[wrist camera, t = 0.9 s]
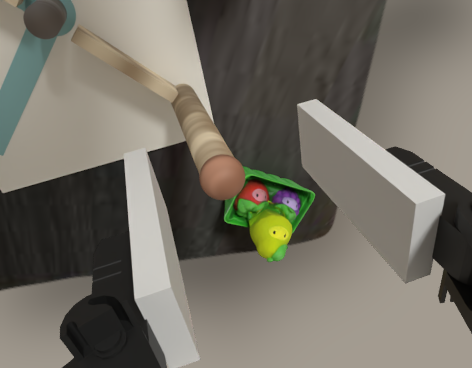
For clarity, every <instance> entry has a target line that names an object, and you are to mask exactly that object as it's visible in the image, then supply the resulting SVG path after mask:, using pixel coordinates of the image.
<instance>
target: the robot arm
mask: <svg viewBox="0 0 472 368" xmlns="http://www.w3.org/2000/svg"><path fill="white" fill-rule="evenodd" d="M297 109H298V121H299V134H300V146H301V158H302V167H303V168H304V169H305V170H306V171H307V172H308V174H309V175H310V176H311V177H312V178H313V179H314V180H315V181H316V183H317V184H318V185H319V186H320V187H321V188H322V189H323V191H324V192H325V193H326V194H327V195H328V196H329V197H330V199H331V200H332V201H333V202H334V203H335V204H336V205H337V206H338V208H339V209H340V210H341V211H342V212H343V213H344V214H345V216H346V217H347V218H348V219H349V220H350V221H351V222H352V223H353V225H354V226H355V227H356V228H357V229H358V230H359V231H360V233H361V234H362V235H363V236H364V237H365V238H366V239H367V241H368V242H370V244H371V245H372V246H373V247H374V248H375V250H376V251H377V252H378V253H379V254H380V255H381V256H382V258H383V259H384V260H385V261H386V262H387V263H388V264H389V265H390V267H391V268H392V269H393V270H394V271H395V272H396V273H397V274H398V276H399V277H400V278H401V279H402V280H403V281H404V282H405V283H408V282H411V281H413V280H416V279H419V278H422V277H424V276H427V275H430V273H431V268H432V262H433V259H435V261H437V262H438V263H439V264H440V265H441V266H442V267H443V268H444V271H443V275H442V280H441V285H440V290H439V294H438V297H439V301H440V303H444V302H445V298H446V293H447V290H448V292H449V294H450V296H451V298H450V302H454V303H455V304H456V306H457V308H458V310H459V312H460V313H461V315H462V317H463V319H464V320H465V322H466V324H467V326H468V328H469V329H470V331H471V333H472V193H471V192H470V191H469V190H467V189H466V188H464V187H463V186H461V185H460V184H458V183H457V182H455V181H454V180H452V179H451V178H449V177H448V176H446V175H445V174H443V173H442V172H441V171H439V170H438V169H434V167H433V166H432V165H430V164H429V163H427V162H424V160H423V159H421V158H420V157H418V156H417V155H415V154H414V153H413V152H410V151H407V150H404V149H401V148H398V147H392V148H389V149H383V148H382V147H381V146H379V145H378V144H376V143H375V142H374V141H372V140H371V139H370V138H368V137H367V136H366V135H364V134H363V133H361V132H360V131H359V130H358V129H356V128H355V127H353V126H352V125H351V124H349V123H348V122H347V121H345V120H344V119H343V118H341V117H340V116H338V115H337V114H336V113H334V112H333V111H332V110H330V109H329V108H328V107H326V106H325V105H323V104H322V103H321V102H319V101H318V100H317V99H314V100H311V101H307V102H304V103H300V104H297ZM124 164H125V177H126V191H127V204H128V218H129V231H128V232H124V233H121V234H118V235H115V236H112V237H108V238H105V239H102V240H101V242H100V244H99V245H98V247H97V249H96V251H95V253H94V259H93V269H94V271H93V283H92V294H91V295H89V296H86V297H85V298H84V299H82V300H81V301H79V302H78V303H76V304H75V305H74V306H73V307H72V308H71V310H70V311H69V312H68V313H67V314H66V315H65V318H64V320H63V322H62V324H61V326H60V339H61V340H62V341H63V342H64V344H65V345H66V346H67V348H68V349H69V351H70V352H71V353H72V355H73V356H74V358H73V359H72V360H71V361H70V362H69V363H68V364H66V365H65V366H64V367H63V368H167V366H166V363H167V365H168V367H169V368H179V367H181V366H184V365H187V364H190V363H192V362H195V361H198V360H200V356H199V351H198V347H197V342H196V337H195V334H194V328H193V324H192V319H191V315H190V311H189V306H188V302H187V297H186V293H185V289H184V284H183V279H182V275H181V270H180V266H179V261H178V257H177V252H176V248H175V243H174V239H173V234H172V230H171V225H170V221H169V216H168V212H167V208H166V205H165V202H164V199H163V196H162V193H161V191H160V188H159V185H158V182H157V179H156V176H155V174H154V171H153V168H152V165H151V162H150V159H149V157H148V154H147V151H146V148H142V149H139V150H135V151H132V152H128V153H125V154H124Z"/></svg>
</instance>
